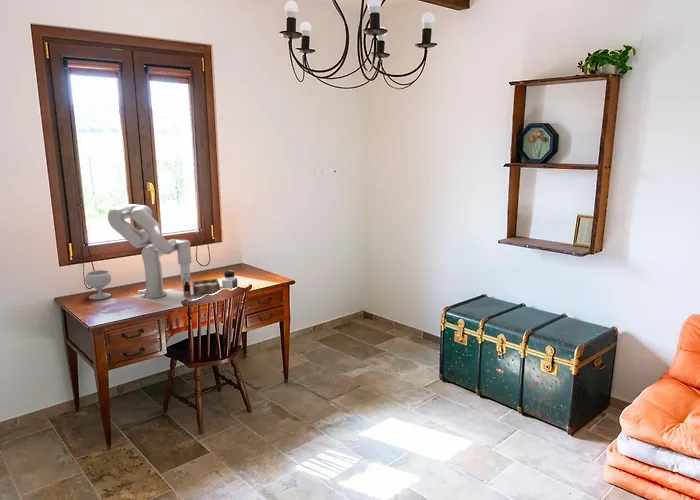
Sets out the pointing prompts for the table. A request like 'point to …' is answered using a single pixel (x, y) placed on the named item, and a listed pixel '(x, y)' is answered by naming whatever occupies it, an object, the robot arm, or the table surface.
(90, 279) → the chalice
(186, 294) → the peg
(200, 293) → the bore box
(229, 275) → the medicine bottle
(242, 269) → the table surface
